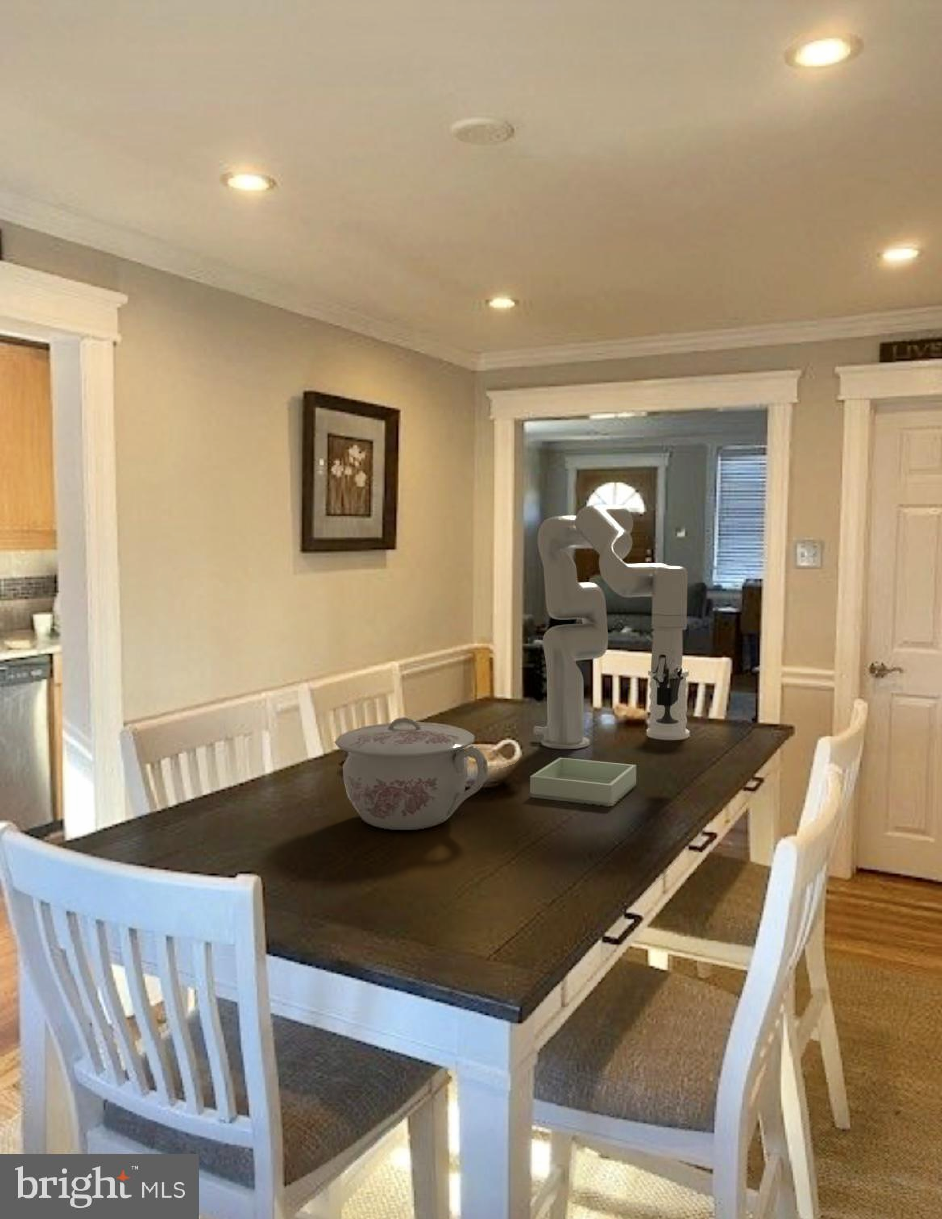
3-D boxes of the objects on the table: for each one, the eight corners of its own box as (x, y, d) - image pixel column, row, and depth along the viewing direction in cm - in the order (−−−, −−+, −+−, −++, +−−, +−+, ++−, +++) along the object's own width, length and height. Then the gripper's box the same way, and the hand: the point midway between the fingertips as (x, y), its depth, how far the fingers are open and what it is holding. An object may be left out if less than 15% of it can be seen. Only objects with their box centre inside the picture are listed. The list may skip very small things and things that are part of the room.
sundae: (646, 721, 215) (647, 655, 213) (662, 717, 220) (663, 652, 218) (671, 726, 210) (673, 658, 209) (687, 721, 215) (689, 655, 214)
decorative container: (657, 741, 256) (657, 674, 255) (639, 732, 267) (639, 668, 266) (697, 738, 259) (697, 672, 257) (678, 729, 270) (678, 666, 268)
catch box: (530, 797, 205) (530, 776, 205) (559, 776, 222) (559, 757, 221) (611, 806, 198) (611, 785, 197) (636, 785, 214) (636, 765, 213)
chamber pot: (321, 811, 197) (318, 711, 196) (445, 794, 208) (444, 700, 206) (360, 853, 172) (358, 739, 170) (500, 832, 183) (499, 724, 181)
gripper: (662, 617, 222) (660, 694, 224) (641, 625, 207) (640, 708, 209) (694, 618, 219) (692, 697, 221) (676, 627, 203) (674, 712, 205)
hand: (667, 702), depth 215 cm, fingers closed on sundae, 5 cm apart
